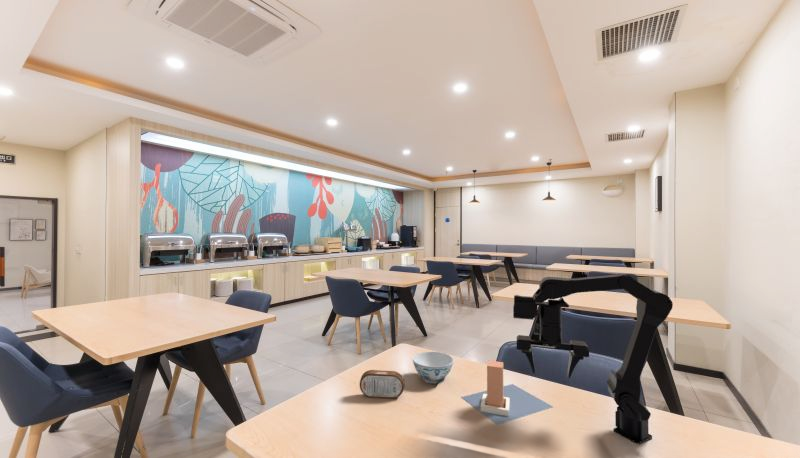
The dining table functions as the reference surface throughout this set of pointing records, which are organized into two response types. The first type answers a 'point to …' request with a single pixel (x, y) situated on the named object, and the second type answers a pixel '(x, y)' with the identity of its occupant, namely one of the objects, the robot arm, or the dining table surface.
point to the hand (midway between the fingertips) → (551, 375)
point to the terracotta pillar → (495, 384)
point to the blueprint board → (519, 404)
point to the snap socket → (495, 409)
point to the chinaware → (432, 365)
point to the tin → (382, 384)
